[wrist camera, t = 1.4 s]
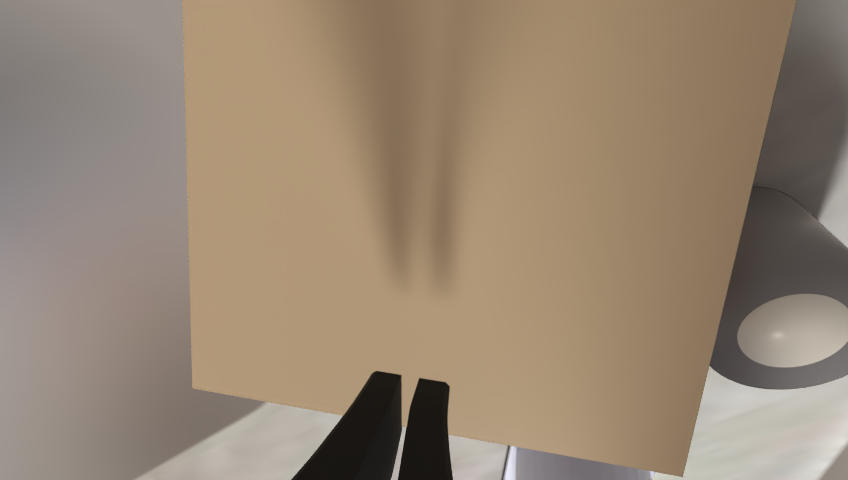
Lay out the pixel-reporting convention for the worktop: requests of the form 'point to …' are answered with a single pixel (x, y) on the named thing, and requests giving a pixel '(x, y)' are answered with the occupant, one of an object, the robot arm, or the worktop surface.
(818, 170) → the worktop surface
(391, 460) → the robot arm
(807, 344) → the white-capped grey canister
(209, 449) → the worktop surface
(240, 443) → the worktop surface
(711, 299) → the lid
